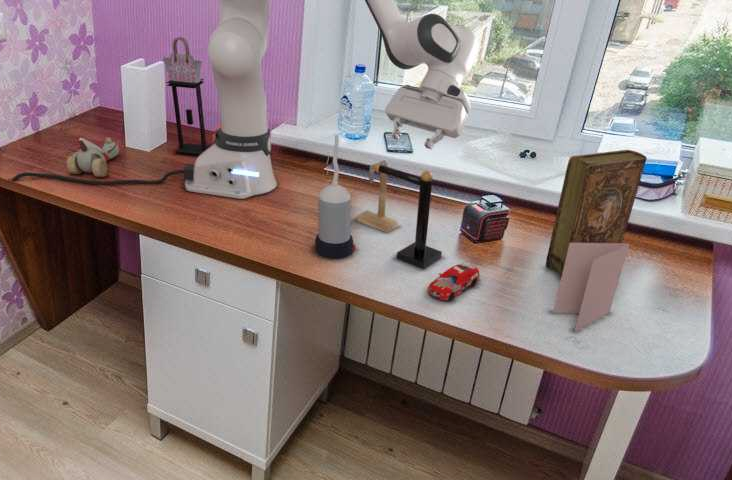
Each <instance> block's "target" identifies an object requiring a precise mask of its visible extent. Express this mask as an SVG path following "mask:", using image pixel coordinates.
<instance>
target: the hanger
mask: <svg viewBox="0 0 732 480" xmlns="http://www.w3.org/2000/svg"><path fill="white" fill-rule="evenodd" d="M378 163H381V164H382V165H384V166H387V167H389V162H387V160H384V159H383V160H381V161H379V162H378ZM375 164H376V163H374V164H372V165H370V166H369V170H368V171H369V172H368V173H369V174H368V183H370V184H373V183H374V179H375V170H374V165H375ZM387 184H388V175H386V174H383V173H379V188H378V189H379V190H378V208H377V211H378V212H374V211H371V210H368V209H367V210H364V211H363V212H360V213H359V214H356V222H358V223H361V224H364V225H366V226H369V227H371V228H375V229H378V230H379V231H383V232H385V233H389V232H391V231H393V230H395V229H397V228H398V225H399V224H398V223H399V222H398V220H396V219H393V218H390V217H387V216H386V215H385V214H386V201H387V187H388V186H387Z"/></svg>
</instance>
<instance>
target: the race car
mask: <svg viewBox="0 0 732 480" xmlns="http://www.w3.org/2000/svg"><path fill="white" fill-rule="evenodd" d="M438 275H439V276H438V277H436V279H434V280H433V281H431V282H430V283H429V285H428V286H427V292H428V294H429V295H430V296H431V297H432V298H434V299H437V300H440V301H449V302H451V301H453V299H454V298H456V297H457V296H459V295H460V294H462V293H464V292H465V291H467V290H468V289H470V288H473V287H475V285H476V284H477V283H478V282H479V279H480V270H479V268H478V267H477V266H474V265H472V264H470V263H459V264H455V265H453V266H451V267H449V268H448V269H446V270H445V271H444V272H442V273H441V272H439V273H438Z"/></svg>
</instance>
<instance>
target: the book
mask: <svg viewBox="0 0 732 480" xmlns="http://www.w3.org/2000/svg"><path fill="white" fill-rule="evenodd" d="M646 162H647V155H644V154H643V153H641V152H638V151H635V150H632V149H621V150H612V151H605V152H595V153H587V154H578V155H572V156H570V157H569V159H568V162H567V165H566V170H565V174H564V180H563V183H562V188H561V192H560V197H559V201H558V206H557V210H556V214H555V218H554V224H553V228H552V233H551V237H550V242H549V246H548V251H547V255H546V259H545V267H546V269H549V270H552V271H554V272H556V273H557V274H559V276H560V278H561V277H562V273H563V269H564V265H565V260H566V256H567V252H568V248H569V243H623V241H624V238H625V235H626V231H627V227H628V224H629V221H630V217H631V214H632V210H633V207H634V203H635V200H636V196H637V193H638V190H639V187H640V182H641V179H642V176H643V172H644V169H645V166H646Z"/></svg>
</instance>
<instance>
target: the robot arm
mask: <svg viewBox="0 0 732 480" xmlns="http://www.w3.org/2000/svg"><path fill="white" fill-rule="evenodd" d="M218 2H219V23H218V27H217V28H216V29H214V31H213V32H212V34H211V35H210V38H209V40H208V45H207V53H208V54H207V55H208V59H209V62H210V64H211V70H212V75H213V80H214V83H215V88H216V91H217V97H218V107H219V117H220V124H218V125H217V126H216V127H215V128H214V131H213V135H212V141H213V142H214V143H213V144H212V145H210V147H209V148H208V149H207V150H206V151H204V152H203V153H202V154H201V155H199V156H197V157H196V159H195V161H194V163H185V166H184V168H183V169H178V170H172V171H169V172H167V173H165V174H164V175H163V176H162V178H160V179H156V180H144V179H121V180H120V179H119V180H92V179H91V180H90V179H83V178H77V177H71V176H70V177H69V176H63V175H60V174H52V173H39V172H22V173H17V174H16V175H14V177H12V179H11V182H16V181H17V180H19V179H20V178H23V177H38V178H51V179H57V180H63V181H68V182H74V183H81V184H88V185H102V186H103V185H104V186H105V185H107V186H108V185H121V184H122V185H123V184H142V185H158V184H161V183H164V182H165V181H166V180H167V179H168V178H169V177H172V176H174V175H180V174H183V177H184V180H185V181H184V188H185V190H186V191H188V192H193V193H199V194H205V195H213V196H218V197H225V198H232V199H238V200H244V199H247V198H250V197H253V196H257V195H262V194H267V193H269V192H272V191H273V190H274V189H276V187H277V186H278V183H277V180H276V177H275V173H274V169H273V165H272V159H271V151H272V139H271V132H270V129H269V125H268V106H267V105H268V104H267V95H266V91H265V85H264V79H263V71H262V61H263V60H262V59H263V58H264V56H265V54H266V52H267V48H268V39H269V25H270V24H269V23H270V0H219V1H218ZM364 2H365V4H366V5H367V8H368V9H369V12H370V14H371V16H372V17H373V20H374V21H375V24H376V25H377V28H378V30H379V32H380V35H381V37H382V40H383V45H384V49H385V52H386V55H387V57H388V59H389V60H390V62H391V63H392V64H393V65H394V66H395V67H397V68H398V69H401V70H411V69H413V68H415V67H418V66H420V65H422V64H423V65H424V64H425V65H426V66H427V71H426V73H425V75H424V77H423V79H422V81H421V82H420V84H419V86H412V85H410V84H405V85H402V86H400V87H398V89H397V90H396V92H395V93H394V95H393V96H392V97H391V98H390V99H389V102H387V105H386V106H385V109H384V111H385V114H386V116H387V118H388V119H389V120H390V121H393V130H392V131H391V134H390V136H391V137H392V139H395V140H400V138H401V136H402V132H401V131H400V128H402V127H403V125H406V126H411V127H414V128H417V129H420V130H424V131H427V132H431V133H434V135H433V136H432V137H430V138H429V137H427V138H426V140H425V142H424V145H423V146H424V147H425V148H426V149H429V150H433V148H434V147H435V144H438V143H439V142H441V141H442V140H443V139H444V137H445V136H446V137H449V138H452V139H456V138H459V137H460V136H461V135H462V134H463V132H464V129H465V127H466V125H467V123H468V118H469V115H468V114H469V113H470V112H471V110H472V105H471V102H470V100H469V99H470V98H469V97H468V95H467V93H466V92H465V91H464V90H463V89H462V88H461V87H462V83H463V82H464V80H465V79H467V77H468V76H469V74H470V72H471V69H472V68H473V65H474V64H475V61H476V59H477V56H478V52H479V40H478V37H477V36H476V34H475V33H474V32H473V31H472V29H470V28H469V27H467V26H464V25H461V24H459V25H455V24H452V23H450V22H448V21H447V20H446V19H445V18H443V16H441V15H439V14H436V13H428V14H425V15H422V16H419V17H417V18H414V19H412V20H410V21H408V20H406V19H405V18H404V16H403V15H402V13H401V11H400V8H399V6H398V4H397V2H396V0H364Z"/></svg>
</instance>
